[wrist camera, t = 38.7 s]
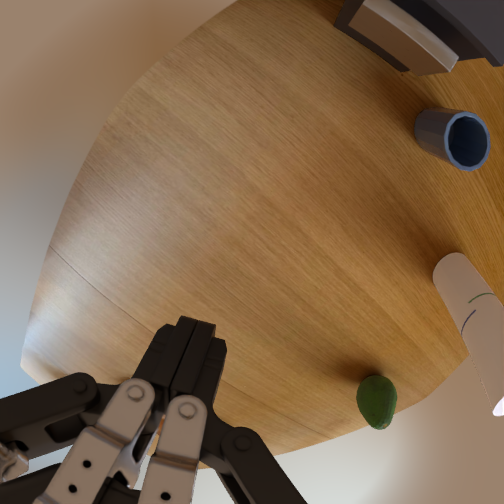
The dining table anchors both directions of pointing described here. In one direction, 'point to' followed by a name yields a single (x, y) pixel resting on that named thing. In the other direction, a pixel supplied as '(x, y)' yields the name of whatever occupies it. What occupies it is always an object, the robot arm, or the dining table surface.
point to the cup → (453, 137)
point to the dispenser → (444, 27)
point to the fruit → (377, 401)
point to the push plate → (403, 37)
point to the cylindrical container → (475, 321)
